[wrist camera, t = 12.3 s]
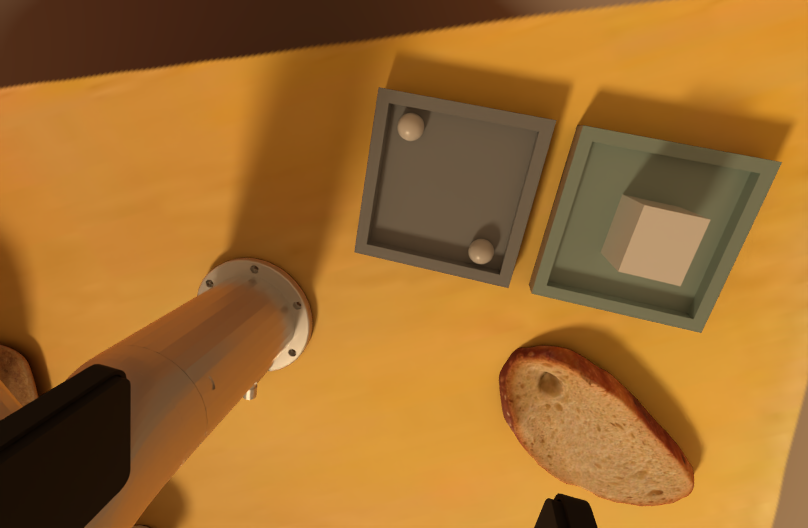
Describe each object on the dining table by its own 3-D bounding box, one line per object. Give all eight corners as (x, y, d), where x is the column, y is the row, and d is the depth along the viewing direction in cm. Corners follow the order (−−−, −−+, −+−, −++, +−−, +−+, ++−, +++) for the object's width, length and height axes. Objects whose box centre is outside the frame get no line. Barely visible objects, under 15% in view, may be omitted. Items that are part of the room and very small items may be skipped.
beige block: (654, 265, 35) (680, 286, 30) (600, 252, 36) (618, 271, 31) (679, 206, 33) (710, 219, 29) (622, 194, 34) (644, 205, 29)
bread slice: (689, 496, 43) (708, 529, 39) (506, 488, 46) (508, 518, 43) (703, 335, 38) (725, 357, 34) (496, 341, 41) (497, 361, 38)
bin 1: (507, 279, 39) (508, 290, 36) (360, 245, 40) (352, 253, 38) (552, 120, 34) (557, 120, 32) (384, 89, 36) (377, 86, 33)
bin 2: (689, 321, 37) (701, 332, 35) (529, 284, 39) (531, 293, 37) (762, 160, 32) (781, 162, 30) (577, 125, 34) (583, 125, 32)
